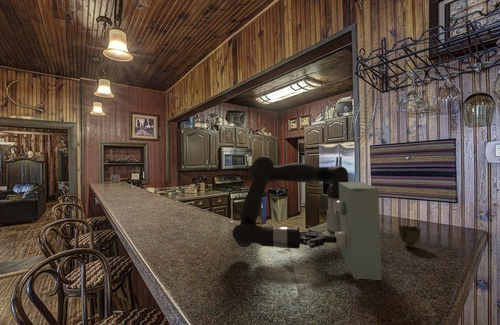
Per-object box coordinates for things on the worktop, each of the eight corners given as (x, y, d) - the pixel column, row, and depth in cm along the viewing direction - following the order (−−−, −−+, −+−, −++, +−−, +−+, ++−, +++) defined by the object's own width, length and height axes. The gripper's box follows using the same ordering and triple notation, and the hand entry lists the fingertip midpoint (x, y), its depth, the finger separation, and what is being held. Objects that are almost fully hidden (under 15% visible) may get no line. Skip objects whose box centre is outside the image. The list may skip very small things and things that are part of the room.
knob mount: (353, 279, 72) (349, 188, 71) (341, 253, 91) (338, 182, 91) (381, 280, 70) (378, 188, 70) (363, 254, 90) (360, 182, 89)
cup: (425, 250, 91) (424, 230, 91) (404, 250, 92) (403, 229, 92) (415, 243, 98) (415, 225, 98) (396, 243, 99) (395, 224, 99)
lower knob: (337, 248, 79) (336, 234, 79) (335, 243, 84) (334, 229, 84) (359, 249, 78) (358, 234, 78) (355, 244, 83) (355, 230, 83)
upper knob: (336, 216, 79) (335, 202, 79) (334, 213, 84) (333, 199, 84) (358, 216, 78) (357, 202, 78) (354, 213, 83) (354, 199, 83)
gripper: (285, 232, 79) (338, 234, 75) (287, 222, 92) (333, 223, 88) (285, 254, 79) (339, 257, 76) (287, 241, 92) (333, 243, 88)
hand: (335, 239), depth 82 cm, fingers closed
